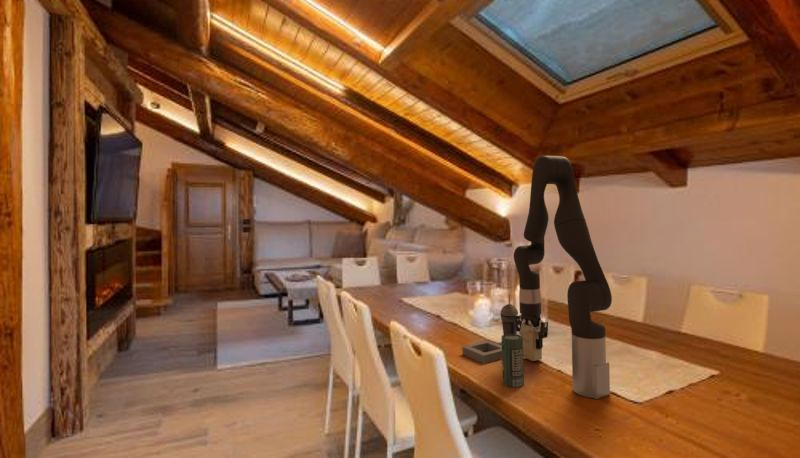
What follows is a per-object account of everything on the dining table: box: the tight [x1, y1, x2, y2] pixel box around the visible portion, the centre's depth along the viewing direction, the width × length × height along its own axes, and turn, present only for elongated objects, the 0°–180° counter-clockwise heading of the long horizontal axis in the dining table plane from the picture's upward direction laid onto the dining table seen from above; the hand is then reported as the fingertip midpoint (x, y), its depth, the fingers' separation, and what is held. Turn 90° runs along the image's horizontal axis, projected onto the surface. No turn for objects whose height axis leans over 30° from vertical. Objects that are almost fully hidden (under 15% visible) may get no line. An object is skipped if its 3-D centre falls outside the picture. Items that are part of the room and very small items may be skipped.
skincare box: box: [520, 324, 543, 362], centre depth 152 cm, size 6×4×12 cm
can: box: [500, 334, 525, 389], centre depth 133 cm, size 6×6×15 cm
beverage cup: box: [499, 294, 519, 335], centre depth 173 cm, size 7×7×20 cm
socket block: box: [462, 340, 502, 365], centre depth 159 cm, size 12×13×3 cm
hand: (531, 346), depth 152 cm, fingers closed on skincare box, 6 cm apart
